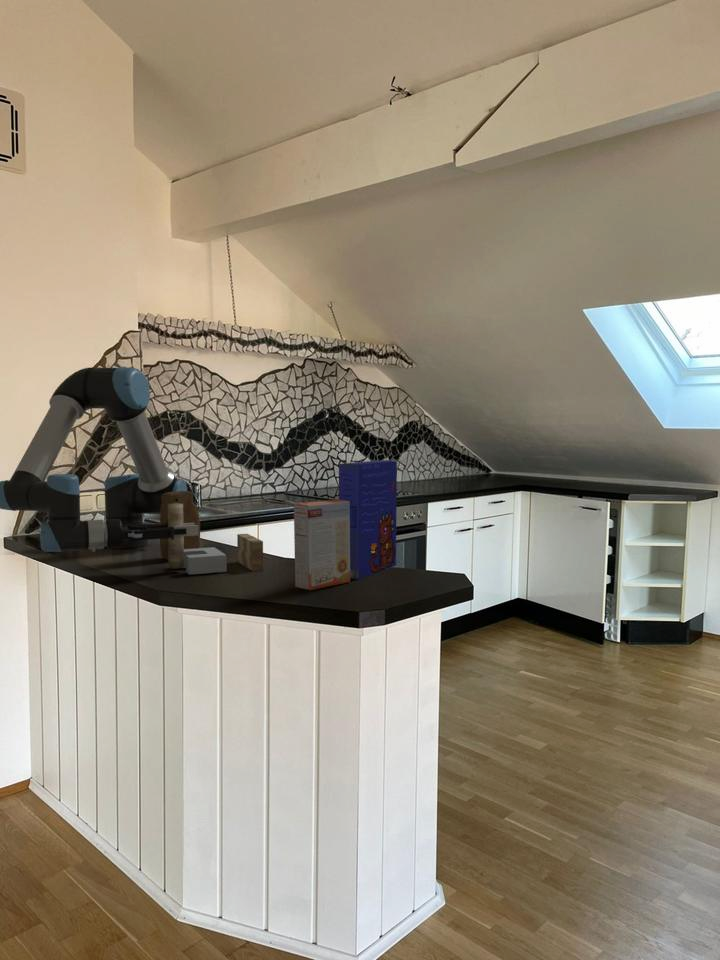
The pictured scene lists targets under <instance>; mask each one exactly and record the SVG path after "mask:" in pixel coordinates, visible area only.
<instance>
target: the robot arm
mask: <svg viewBox="0 0 720 960" xmlns="http://www.w3.org/2000/svg"><path fill="white" fill-rule="evenodd" d="M150 390H151V388H150V384H149V381H148V379H147V377H146V376H145V374H144V373H143V372H142V371H141V370H140V369H139V368H135V367H127V366H118V367H92V366H91V367H84V368H81V369H79V370H77V371H75V372H74V373H72V374H70V375H69V376H68V377H67V378H65V379H64V380H63V381H62V382H61V383H60V384H59V386H57V388H56V389H55V390H54V391H53V392H52V395H51V397H50V399H49V406H50V407H49V409H48V410H47V412H46V414H45V416H44V418H43V419H42V421H41V423H40V425H39V427H38V429H37V430H36V432H35V434H34V436H33V437H32V440H31V442H30V443H29V445H28V447H27V448H26V450H25V452H24V454H23V456H22V457H21V460H20V461H19V462H18V465H17V467H16V469H15V470H14V471H13V474H12V476H10V479H5V480H1V481H0V510H5V511H12V512H13V511H14V512H16V511H17V512H18V511H22V512H23V511H24V512H28V511H31V512H47V516H48V517H47V521H45V522H41V523H40V526H39V527H40V528H39V529H40V530H39V531H40V532H39V534H40V536H39V537H40V548H41V550H42V551H43V552H46V553H47V552H48V553H49V552H51V553H53V552H58V553H63V552H64V553H65V552H75V551H76V552H77V551H88V550H91V551H92V552H93V553H95V552H96V551H97V550H101V549H134V548H140V547H146V546H148V545H149V544H150V540H160V539H165V538H172V540H174V537H179V536H196V535H198V525H195V523H183V526H173V527H168V522H166V524H165V523H162V524H160V523H149V524H146V523H145V524H144V515H160V510H161V504H162V501H161V496H162V494H164V493H168V492H178V491H188V487H187V483H186V480H185V479H184V478H180V477H178V478H177V477H176V475H175V473H174V471H173V469H172V468H169V467H167V466H166V462H165V460H164V458H163V455H162V452H161V450H160V447H159V445H158V442H157V440H156V437H155V435H154V432H153V429H152V427H151V424H150V422H149V420H148V417H147V414H146V410H147V409H148V405H149V402H150V399H151V392H150ZM91 409H99V410H101V409H103V410H104V411H105V414H106V416H107V417H108V418H109V420H111V421H112V422H116V424H117V427H118V429H119V431H120V434H121V436H122V440H123V441H124V444H125V445H126V448H127V450H128V452H129V455H130V458H131V460H132V461H133V464H134V467H135V469H136V472H137V473H132V474H131V473H130V474H125V475H123V474H122V475H115V476H109V477H107V478H106V479H105V480H104V482H105V483H104V491H103V492H104V510H105V512H104V513H105V515H104V516H105V521H104V520H103V519H87V520H81V497H80V496H81V490H80V479H79V476H77V475H76V474H73V473H64V474H63V473H57V474H55V473H54V474H49V473H50V471H51V469H52V467H53V465H54V464H55V461H56V459H57V458H58V456H59V455H60V452H61V450H62V448H63V446H64V444H65V443H66V440H67V438H68V436H69V434H70V433H71V431H72V429H73V427H74V425H75V423H76V421H77V420H79V419H81V418H83V416H84V414H85V412H86V411H88V410H91ZM45 480H46V481H45ZM104 547H105V548H104Z"/></svg>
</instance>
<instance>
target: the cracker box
mask: <svg viewBox="0 0 720 960" xmlns="http://www.w3.org/2000/svg"><path fill="white" fill-rule="evenodd" d="M293 526H294V527H293V529H294V530H293V531H294V533H293V534H294V535H293V536H294V537H293V538H294V585H295V586H294V587H295V588H297V589H302V590H306V591H314V590H319V589H322V588H323V589H324V588H327V587H333V586H337V585H342V584H346V583H350V582H351V579H350V502H349V501H343V500H339V499H332V500H331V499H329V500H319V501H309V502H301V503H295V504H293Z"/></svg>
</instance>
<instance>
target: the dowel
mask: <svg viewBox="0 0 720 960" xmlns="http://www.w3.org/2000/svg"><path fill="white" fill-rule="evenodd" d="M173 526H183V504H179V503H175V504H168V527H173ZM168 552H169V560H168V568H169V569H174V570H175V569H184V568H183V567H184V536H179V537H174V540H172V538H168Z"/></svg>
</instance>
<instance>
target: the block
mask: <svg viewBox="0 0 720 960" xmlns="http://www.w3.org/2000/svg"><path fill="white" fill-rule="evenodd" d="M193 496H194V495H193V492H192V491H188V490H187V491H178V492H168V493H164V494H162V496H161V501H162V504H161V510H160V514H159V516H160V517H159V524H162V523H165V524H166V522H168V504H175V503H179V504H183V523H195V525H198V535H196V536H184V549H196V548H201V546H200V545H201V519H200V514H199V511H198V509H197V505H196V504H195V503H194V500H193ZM159 544H160V546H159V547H160V554H161V557H162V558H163V559H165V560H166V561H169V552H168V538H165V539H159Z"/></svg>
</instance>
